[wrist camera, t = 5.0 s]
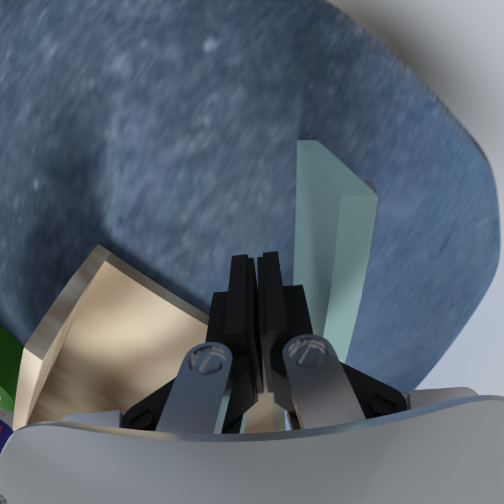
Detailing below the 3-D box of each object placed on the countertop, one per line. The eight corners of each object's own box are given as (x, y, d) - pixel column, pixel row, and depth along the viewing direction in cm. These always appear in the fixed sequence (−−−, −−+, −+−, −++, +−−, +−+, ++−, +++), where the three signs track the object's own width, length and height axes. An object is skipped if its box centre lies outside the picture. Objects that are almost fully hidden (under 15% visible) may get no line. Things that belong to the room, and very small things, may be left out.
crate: (279, 355, 22) (288, 465, 15) (175, 425, 29) (164, 499, 21) (98, 243, 18) (23, 347, 10) (48, 357, 24) (12, 430, 16)
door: (318, 350, 21) (336, 448, 14) (288, 352, 21) (298, 452, 14) (340, 141, 14) (418, 198, 7) (297, 139, 14) (341, 195, 7)
